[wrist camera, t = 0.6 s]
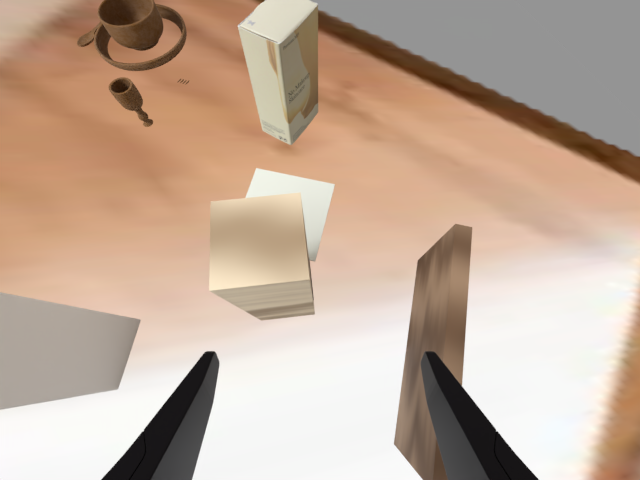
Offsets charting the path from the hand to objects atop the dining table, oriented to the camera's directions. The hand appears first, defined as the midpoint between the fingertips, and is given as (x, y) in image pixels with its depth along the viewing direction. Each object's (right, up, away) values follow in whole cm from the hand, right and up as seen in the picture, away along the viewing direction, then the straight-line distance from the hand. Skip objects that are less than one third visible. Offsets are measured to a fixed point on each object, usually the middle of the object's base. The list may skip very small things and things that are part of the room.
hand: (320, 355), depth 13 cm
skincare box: (-3, +19, +23) cm, 31 cm away
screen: (+8, -4, +14) cm, 17 cm away
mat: (-4, +8, +19) cm, 21 cm away
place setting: (-25, +28, +28) cm, 47 cm away
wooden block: (-3, 0, +16) cm, 16 cm away
